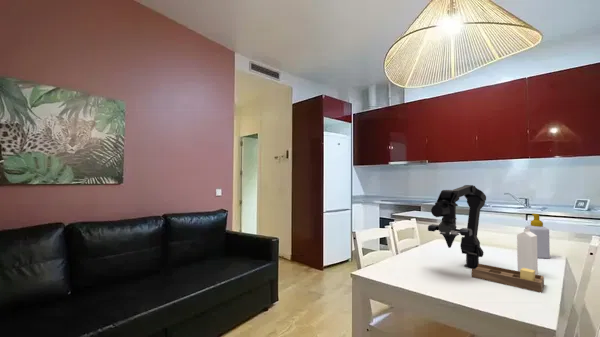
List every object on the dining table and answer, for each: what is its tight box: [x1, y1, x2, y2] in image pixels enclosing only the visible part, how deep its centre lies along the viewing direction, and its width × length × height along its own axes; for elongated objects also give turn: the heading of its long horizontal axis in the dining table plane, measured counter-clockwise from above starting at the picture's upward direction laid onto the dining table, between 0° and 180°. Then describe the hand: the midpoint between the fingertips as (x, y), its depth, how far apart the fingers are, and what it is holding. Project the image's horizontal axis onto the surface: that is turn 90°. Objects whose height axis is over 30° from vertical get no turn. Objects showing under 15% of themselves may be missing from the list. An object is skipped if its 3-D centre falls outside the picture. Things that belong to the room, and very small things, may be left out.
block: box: [520, 268, 535, 281], centre depth 121 cm, size 4×4×5 cm
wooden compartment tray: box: [471, 263, 545, 293], centre depth 128 cm, size 12×25×4 cm, turn 45°
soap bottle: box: [524, 213, 551, 259], centre depth 168 cm, size 9×9×25 cm
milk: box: [516, 228, 539, 275], centre depth 138 cm, size 6×6×22 cm
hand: (449, 247), depth 138 cm, fingers closed
